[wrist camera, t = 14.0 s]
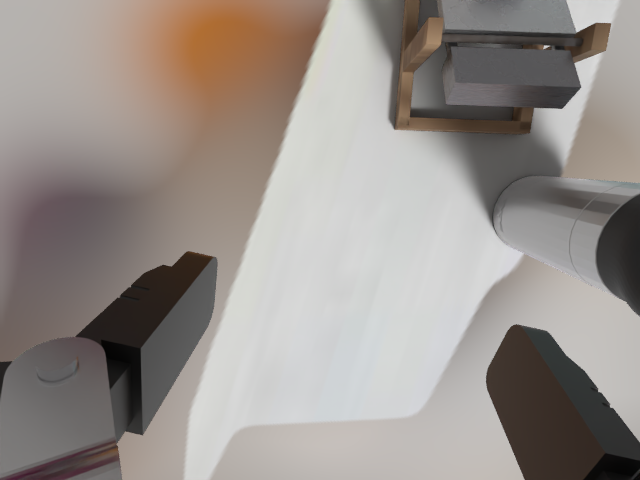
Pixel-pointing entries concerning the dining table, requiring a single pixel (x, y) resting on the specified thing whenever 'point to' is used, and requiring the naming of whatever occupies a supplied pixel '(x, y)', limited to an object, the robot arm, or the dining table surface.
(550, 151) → the dining table surface
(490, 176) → the dining table surface
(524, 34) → the trapdoor plate
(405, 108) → the brown wooden frame
